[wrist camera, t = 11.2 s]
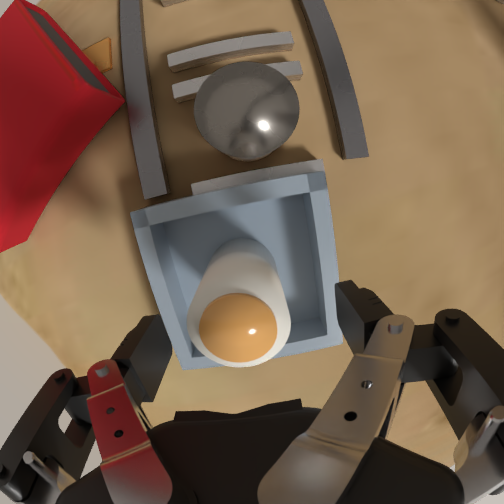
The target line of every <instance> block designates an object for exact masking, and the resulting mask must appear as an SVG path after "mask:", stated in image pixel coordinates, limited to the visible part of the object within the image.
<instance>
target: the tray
mask: <svg viewBox="0 0 504 504" xmlns="http://www.w3.org/2000/svg"><path fill="white" fill-rule="evenodd" d="M130 215H131V219H132V223H133V227H134V231H135V235H136V238H137V242H138V246H139V249H140V253H141V256H142V259H143V263H144V266H145V269H146V272H147V276H148V279H149V282H150V285H151V288H152V291H153V294H154V297H155V300H156V303H157V306H158V308H159V311H160V314H161V317H162V319H163V322H164V325H165V327H166V330H167V333H168V335H169V338H170V340H171V343H172V345H173V348H174V350H175V353H176V355H177V358H178V360H179V362H180V365H181V367H182V369H183V370H190V369H200V368H210V367H219V366H226V365H222V364H219V363H217V362H215V361H212V360H211V359H209V358H207V357H206V356H205V355H203V354H202V353H201V352H200V351H199V350H198V349H197V348H196V347H195V345H194V344H193V342H192V341H191V338H190V336H189V334H188V330H187V313H188V310H189V307H190V304H191V302H192V300H193V297H194V295H195V293H196V291H197V288H198V286H199V284H200V282H201V279H202V277H203V275H204V273H205V271H206V268H207V266H208V264H209V262H210V260H211V257H212V255H213V254H214V252H215V251H216V250H217V249H218V248H219V247H220V246H221V245H222V244H224V243H225V242H227V241H230V240H233V239H238V238H247V239H252V240H255V241H257V242H259V243H261V244H263V245H264V246H265V247H266V248H267V249H268V250H269V251H270V252H271V254H272V256H273V257H274V260H275V263H276V267H277V270H278V274H279V277H280V281H281V285H282V288H283V292H284V296H285V299H286V303H287V307H288V310H289V314H290V319H291V329H290V334H289V337H288V339H287V342H286V343H285V345H284V346H283V348H282V349H281V350H280V351H279V352H278V353H277V354H276V355H275V356H274V357H272V358H271V359H273V358H279V357H284V356H289V355H295V354H300V353H304V352H309V351H314V350H318V349H323V348H327V347H331V346H335V345H339V344H343V336H342V331H341V329H340V327H339V324H338V320H337V313H336V300H335V283H339V276H338V265H337V256H336V247H335V238H334V230H333V223H332V215H331V208H330V202H329V195H328V189H327V183H326V177H325V171H316V172H309V173H303V174H297V175H291V176H285V177H279V178H274V179H268V180H263V181H258V182H253V183H248V184H243V185H238V186H233V187H228V188H223V189H219V190H214V191H210V192H205V193H201V194H197V195H191V196H186V197H182V198H178V199H174V200H170V201H166V202H163V203H159V204H155V205H151V206H148V207H145V208H142V209H139V210H136V211H133V212H130Z"/></svg>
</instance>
